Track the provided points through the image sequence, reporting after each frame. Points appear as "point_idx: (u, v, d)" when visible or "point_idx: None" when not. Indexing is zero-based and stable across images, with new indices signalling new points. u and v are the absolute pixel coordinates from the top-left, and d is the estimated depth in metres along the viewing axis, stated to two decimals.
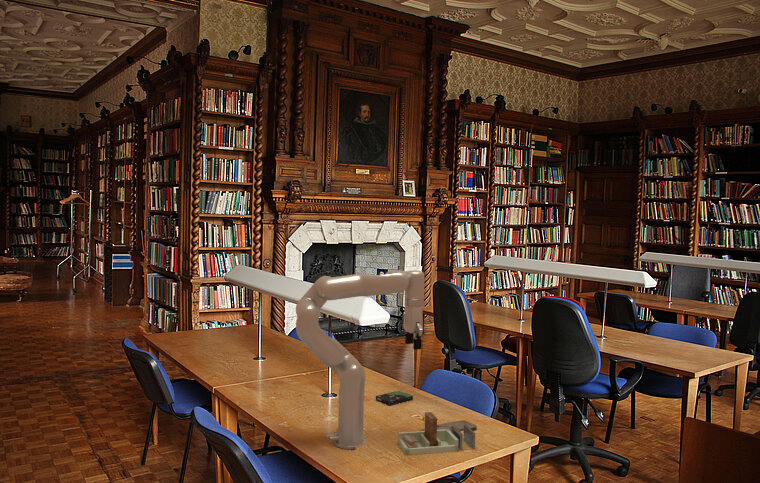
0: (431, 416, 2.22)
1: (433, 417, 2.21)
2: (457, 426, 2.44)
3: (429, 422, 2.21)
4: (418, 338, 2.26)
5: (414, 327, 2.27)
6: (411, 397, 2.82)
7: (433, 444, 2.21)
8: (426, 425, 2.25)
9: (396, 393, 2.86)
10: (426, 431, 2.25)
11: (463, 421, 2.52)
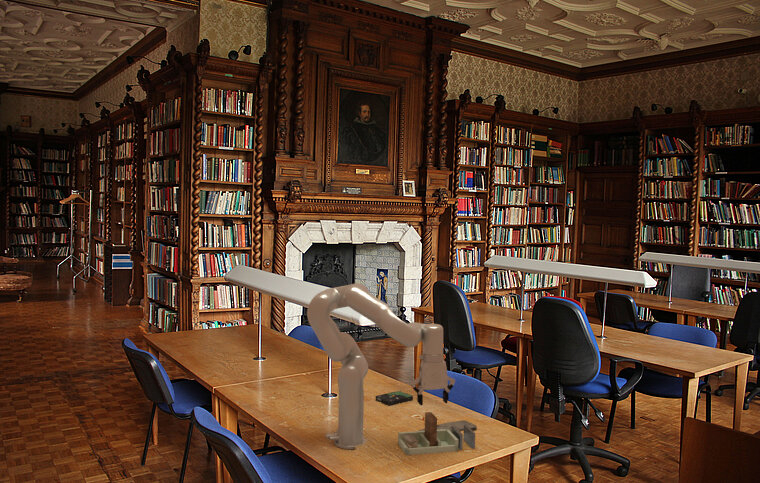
0: (431, 416, 2.22)
1: (433, 417, 2.21)
2: (457, 426, 2.44)
3: (429, 422, 2.21)
4: None
5: None
6: (411, 397, 2.81)
7: (433, 444, 2.21)
8: (426, 425, 2.25)
9: (396, 393, 2.85)
10: (426, 431, 2.25)
11: (463, 421, 2.52)
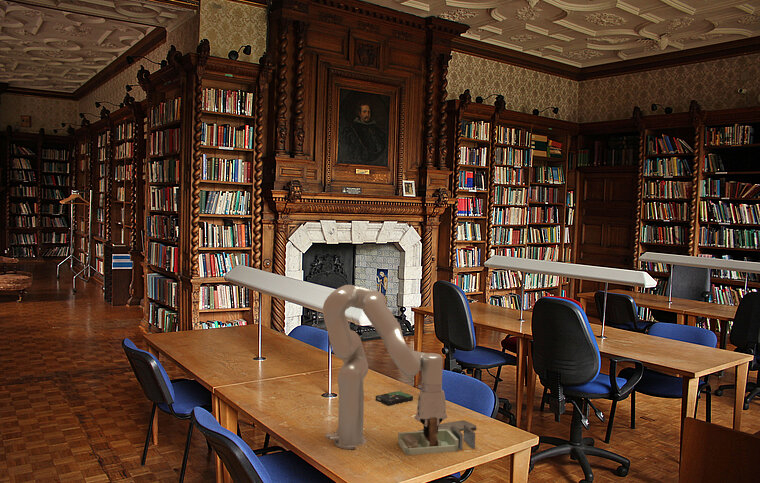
0: None
1: None
2: (457, 426, 2.44)
3: (429, 422, 2.21)
4: None
5: None
6: (411, 397, 2.81)
7: (433, 444, 2.21)
8: None
9: (396, 393, 2.85)
10: None
11: (463, 421, 2.52)
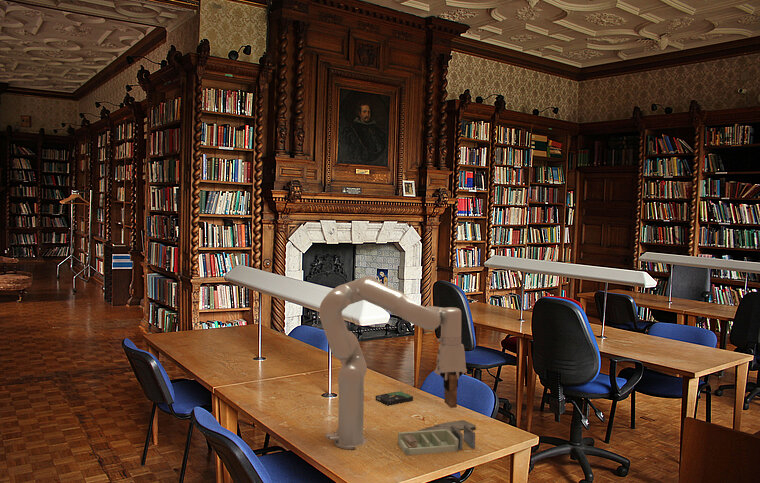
0: (451, 373, 2.23)
1: (453, 374, 2.22)
2: (456, 426, 2.44)
3: (449, 379, 2.22)
4: None
5: None
6: (411, 398, 2.81)
7: (453, 401, 2.21)
8: None
9: (397, 393, 2.85)
10: None
11: (462, 421, 2.52)
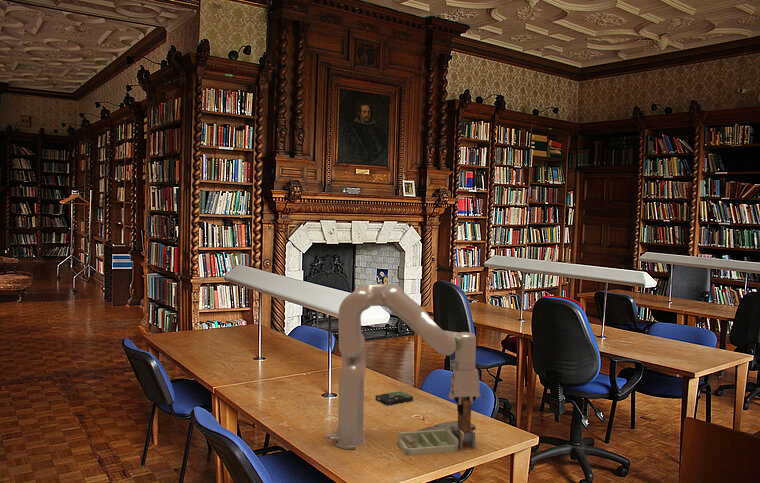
0: (465, 399, 2.25)
1: (467, 400, 2.24)
2: (456, 426, 2.44)
3: (463, 405, 2.24)
4: None
5: None
6: (411, 398, 2.81)
7: (467, 427, 2.23)
8: None
9: (397, 393, 2.85)
10: (459, 414, 2.27)
11: None
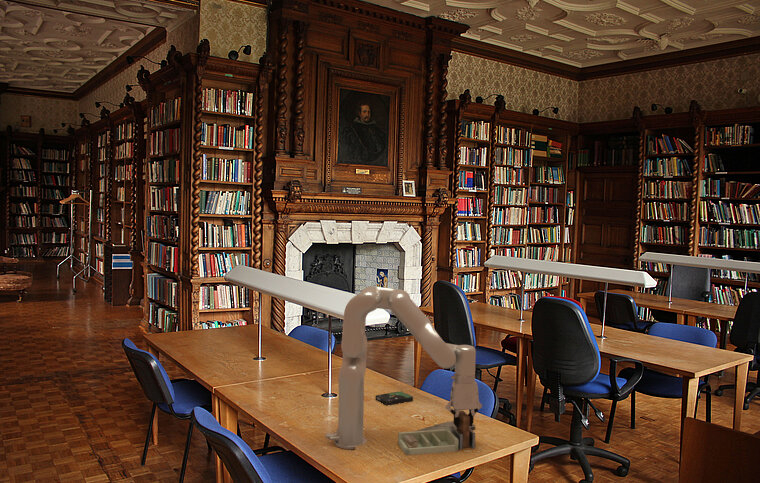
0: (463, 414, 2.25)
1: (466, 415, 2.24)
2: None
3: (462, 420, 2.24)
4: None
5: None
6: (411, 398, 2.80)
7: (466, 442, 2.24)
8: None
9: (397, 393, 2.85)
10: (458, 429, 2.28)
11: None
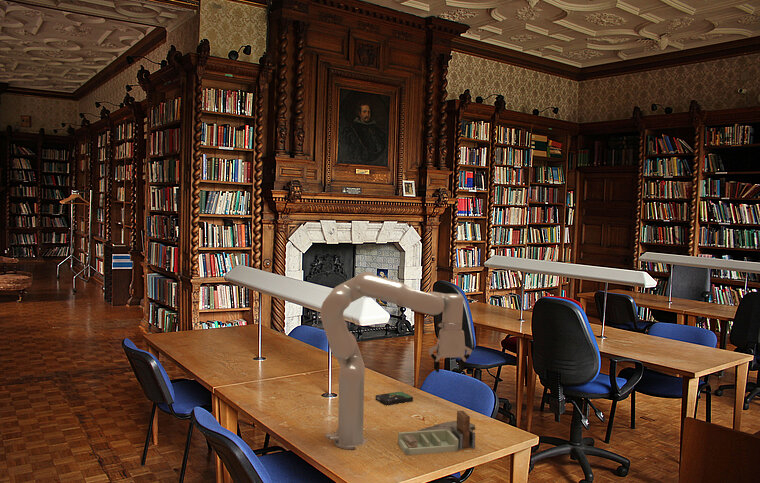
0: (463, 414, 2.25)
1: (466, 415, 2.24)
2: (456, 426, 2.44)
3: (462, 420, 2.24)
4: None
5: None
6: (411, 398, 2.80)
7: (466, 442, 2.24)
8: (458, 423, 2.28)
9: (397, 393, 2.85)
10: (458, 429, 2.28)
11: None
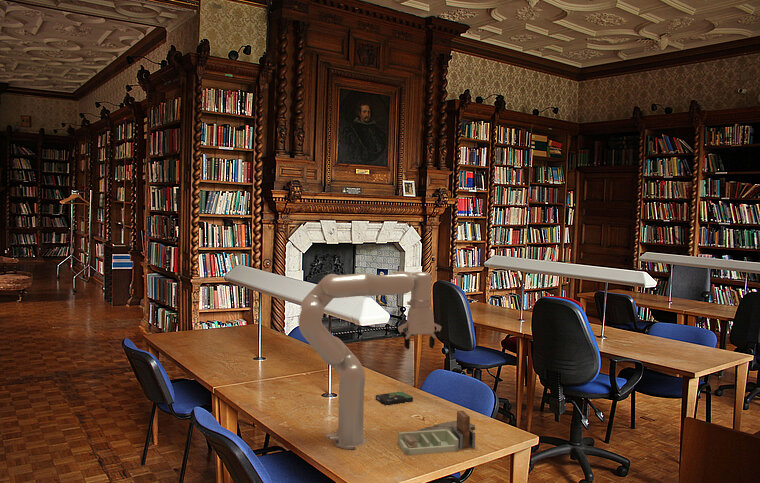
0: (463, 414, 2.25)
1: (466, 415, 2.24)
2: (455, 426, 2.44)
3: (462, 420, 2.24)
4: None
5: None
6: (411, 398, 2.80)
7: (466, 442, 2.24)
8: (458, 423, 2.28)
9: (398, 393, 2.85)
10: (458, 429, 2.28)
11: None
